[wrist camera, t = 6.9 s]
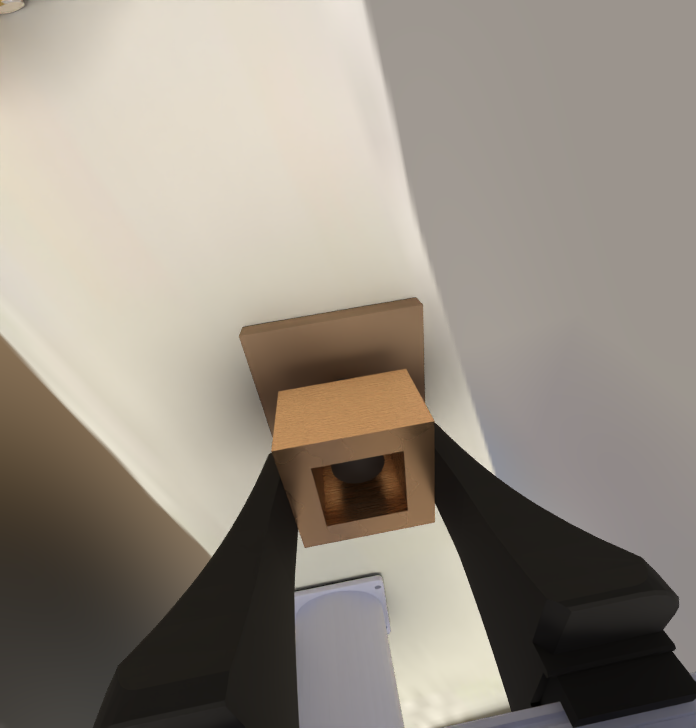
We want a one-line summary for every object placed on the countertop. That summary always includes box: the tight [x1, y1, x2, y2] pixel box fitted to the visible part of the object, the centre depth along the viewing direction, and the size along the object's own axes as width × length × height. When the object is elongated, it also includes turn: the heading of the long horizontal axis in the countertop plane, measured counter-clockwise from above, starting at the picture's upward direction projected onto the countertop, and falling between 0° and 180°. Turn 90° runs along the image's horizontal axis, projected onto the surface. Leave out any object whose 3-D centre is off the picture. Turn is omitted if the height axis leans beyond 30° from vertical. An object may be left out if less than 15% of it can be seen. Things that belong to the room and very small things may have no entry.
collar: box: [271, 369, 435, 548], centre depth 13 cm, size 5×5×3 cm
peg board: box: [239, 298, 425, 484], centre depth 15 cm, size 8×8×6 cm
